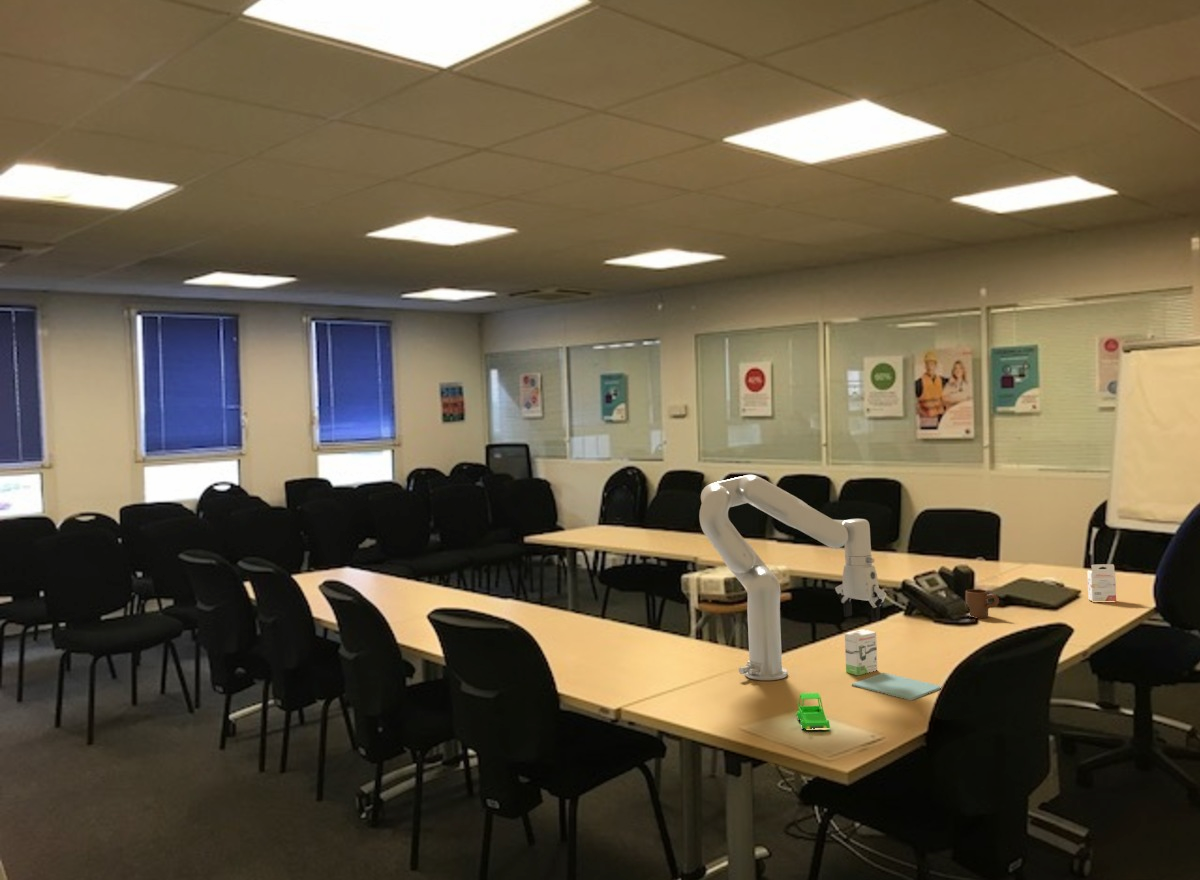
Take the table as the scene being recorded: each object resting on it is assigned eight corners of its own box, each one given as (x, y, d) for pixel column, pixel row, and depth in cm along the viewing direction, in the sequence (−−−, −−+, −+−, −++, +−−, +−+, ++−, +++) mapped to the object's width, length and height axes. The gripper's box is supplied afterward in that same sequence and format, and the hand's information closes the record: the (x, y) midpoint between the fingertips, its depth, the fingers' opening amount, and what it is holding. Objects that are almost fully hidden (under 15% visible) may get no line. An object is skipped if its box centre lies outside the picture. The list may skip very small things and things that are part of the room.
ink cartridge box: (1111, 600, 354) (1110, 562, 354) (1116, 603, 349) (1115, 564, 349) (1087, 600, 356) (1086, 562, 355) (1092, 603, 351) (1091, 564, 350)
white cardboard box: (857, 676, 270) (856, 636, 270) (845, 672, 274) (843, 633, 274) (878, 670, 275) (876, 631, 274) (865, 667, 279) (864, 628, 278)
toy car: (796, 718, 237) (795, 692, 237) (822, 717, 236) (821, 691, 236) (802, 733, 226) (801, 706, 225) (830, 732, 225) (829, 705, 225)
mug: (1004, 618, 333) (1003, 592, 333) (993, 621, 328) (993, 595, 328) (972, 613, 342) (971, 588, 342) (962, 617, 338) (961, 591, 337)
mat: (911, 700, 246) (911, 698, 246) (851, 685, 261) (851, 683, 261) (942, 688, 255) (942, 686, 255) (883, 674, 270) (883, 672, 270)
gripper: (891, 561, 269) (894, 619, 270) (842, 556, 283) (845, 612, 283) (875, 565, 264) (879, 624, 265) (826, 560, 278) (830, 616, 279)
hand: (861, 618), depth 274 cm, fingers open, 9 cm apart
